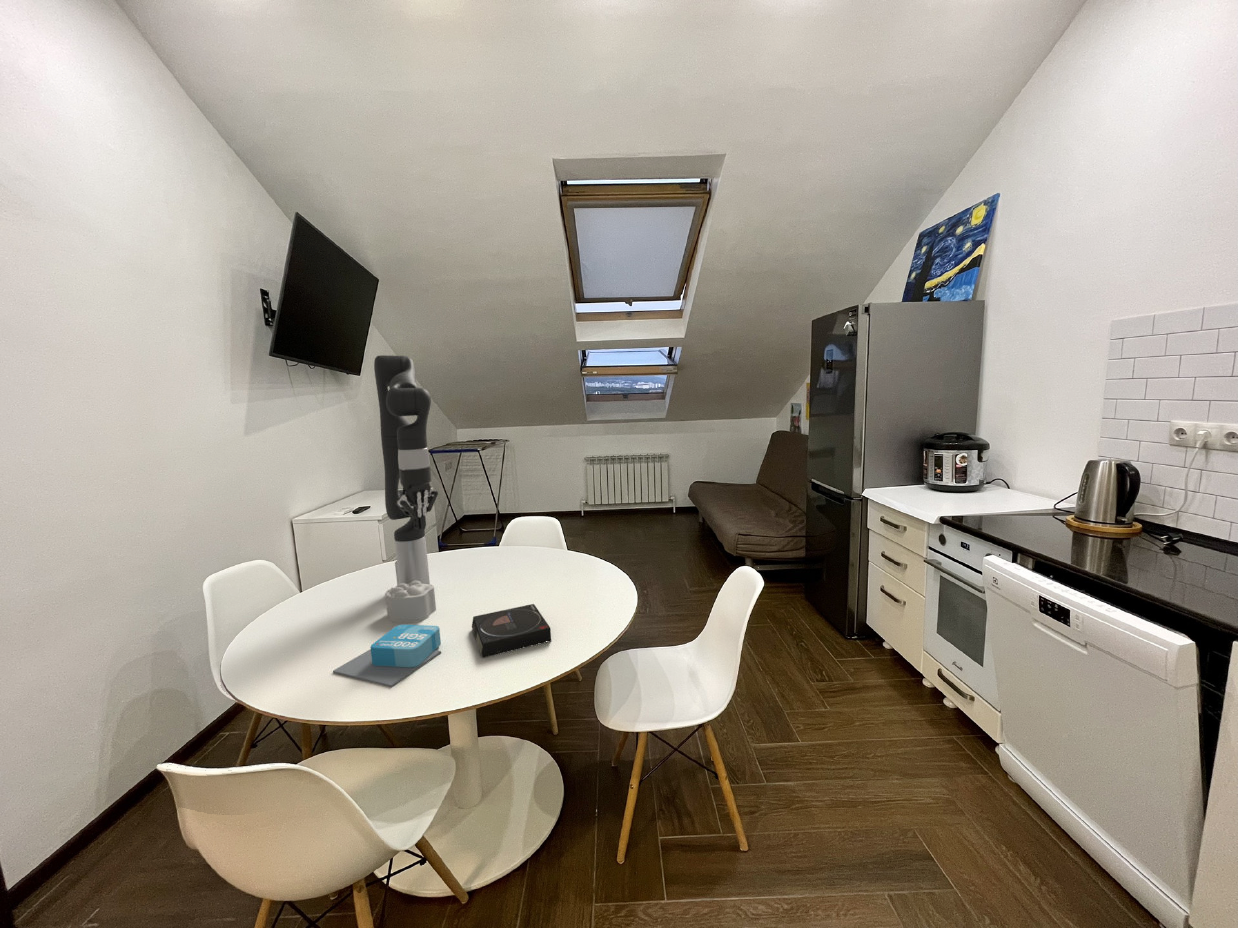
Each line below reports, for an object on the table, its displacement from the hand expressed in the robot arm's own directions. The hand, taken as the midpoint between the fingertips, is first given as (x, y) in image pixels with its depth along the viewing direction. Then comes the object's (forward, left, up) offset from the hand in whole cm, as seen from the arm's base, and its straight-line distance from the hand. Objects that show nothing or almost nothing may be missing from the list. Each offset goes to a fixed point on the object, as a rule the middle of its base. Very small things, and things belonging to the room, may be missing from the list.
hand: (420, 529), depth 131 cm
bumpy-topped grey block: (-12, +4, -27) cm, 30 cm away
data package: (+5, -8, -24) cm, 26 cm away
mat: (+4, -18, -27) cm, 33 cm away
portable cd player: (+24, +2, -28) cm, 37 cm away
